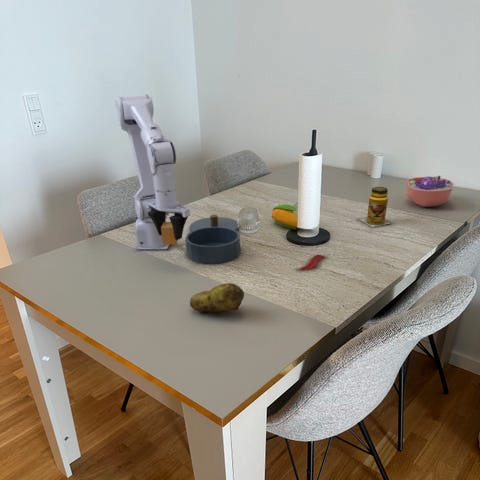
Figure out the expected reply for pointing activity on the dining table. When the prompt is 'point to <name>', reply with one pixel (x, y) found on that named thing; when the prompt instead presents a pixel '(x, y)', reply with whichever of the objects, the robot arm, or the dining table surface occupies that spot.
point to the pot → (213, 245)
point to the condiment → (377, 207)
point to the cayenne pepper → (312, 262)
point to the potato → (218, 298)
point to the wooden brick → (168, 233)
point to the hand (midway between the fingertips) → (170, 236)
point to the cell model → (429, 190)
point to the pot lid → (214, 223)
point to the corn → (285, 216)
